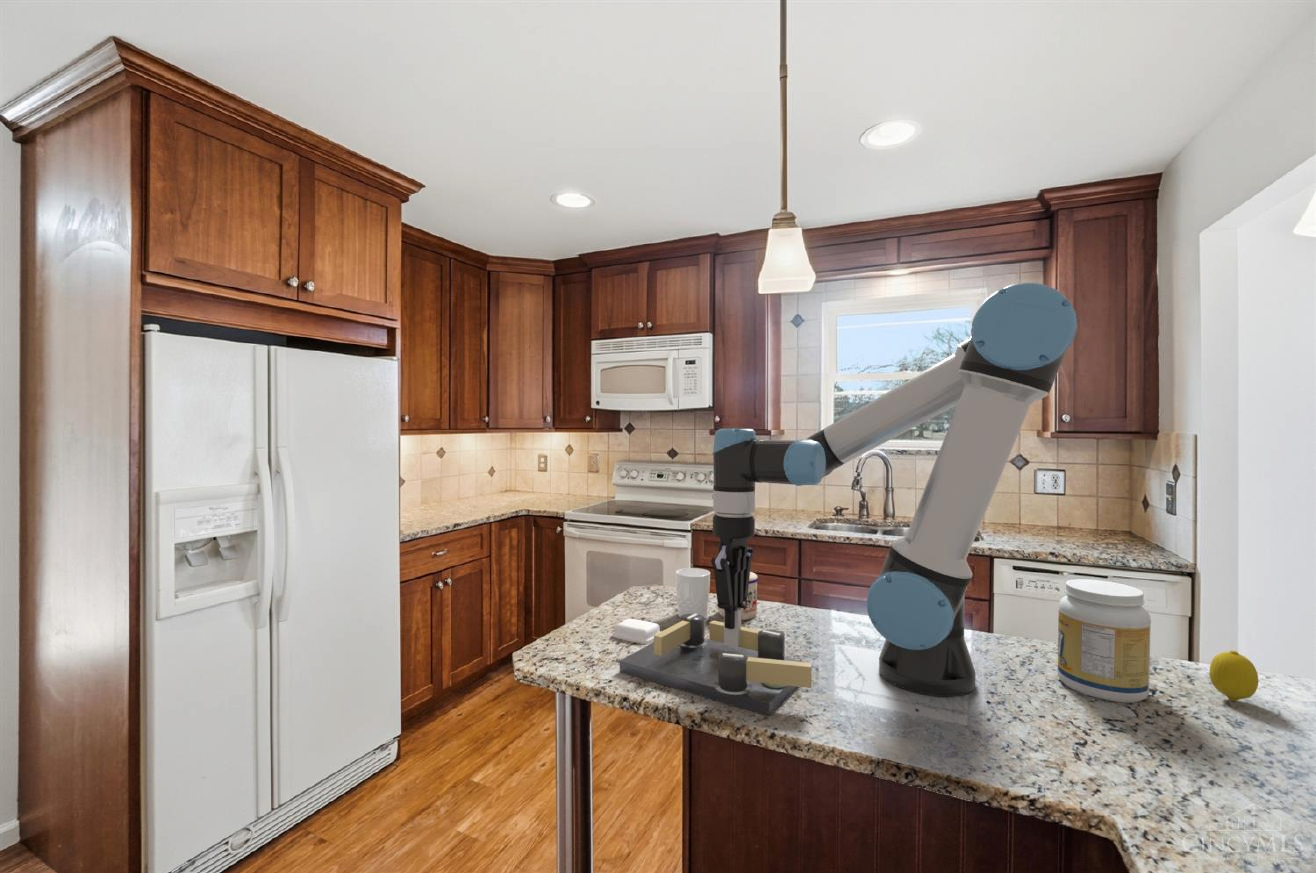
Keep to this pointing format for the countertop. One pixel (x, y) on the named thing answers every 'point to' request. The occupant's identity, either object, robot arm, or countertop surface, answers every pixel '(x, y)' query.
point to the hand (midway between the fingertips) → (732, 644)
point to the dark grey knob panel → (703, 675)
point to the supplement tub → (1104, 640)
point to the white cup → (692, 591)
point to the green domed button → (774, 685)
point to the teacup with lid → (749, 600)
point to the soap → (636, 631)
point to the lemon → (1233, 675)
